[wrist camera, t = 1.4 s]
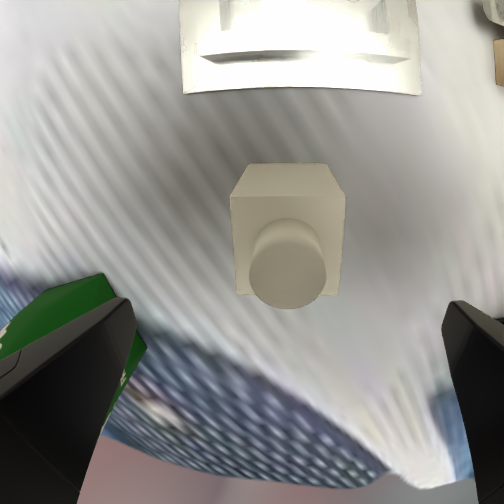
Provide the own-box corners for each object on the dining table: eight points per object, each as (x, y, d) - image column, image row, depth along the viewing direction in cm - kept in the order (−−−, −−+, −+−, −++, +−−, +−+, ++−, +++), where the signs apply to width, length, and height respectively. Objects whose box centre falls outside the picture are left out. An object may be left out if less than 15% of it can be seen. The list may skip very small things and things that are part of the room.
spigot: (323, 234, 18) (344, 327, 11) (252, 234, 18) (229, 326, 11) (325, 163, 16) (357, 217, 9) (248, 163, 16) (217, 217, 9)
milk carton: (162, 354, 23) (69, 594, 6) (84, 361, 25) (-10, 537, 8) (106, 257, 20) (-81, 515, 2) (33, 282, 22) (-110, 456, 4)
